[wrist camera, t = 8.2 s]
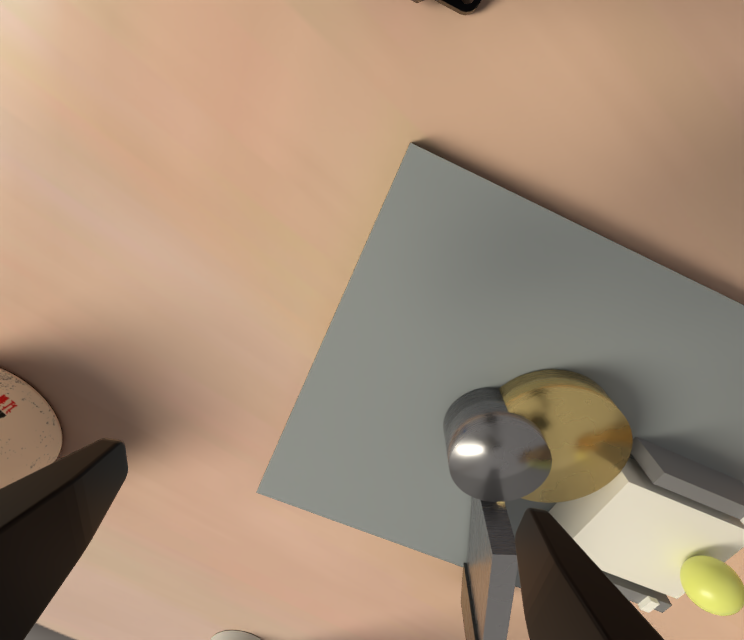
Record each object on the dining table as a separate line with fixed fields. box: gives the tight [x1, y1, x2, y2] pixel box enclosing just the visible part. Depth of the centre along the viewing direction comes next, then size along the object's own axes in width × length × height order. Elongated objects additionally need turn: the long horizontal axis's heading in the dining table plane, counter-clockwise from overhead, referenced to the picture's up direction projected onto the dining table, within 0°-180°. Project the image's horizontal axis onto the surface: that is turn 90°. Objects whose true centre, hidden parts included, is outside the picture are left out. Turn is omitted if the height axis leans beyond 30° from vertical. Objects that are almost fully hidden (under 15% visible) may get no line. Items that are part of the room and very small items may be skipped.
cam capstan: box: [443, 369, 633, 640], centre depth 22 cm, size 9×18×5 cm, turn 3°
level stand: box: [256, 143, 744, 613], centre depth 22 cm, size 22×26×4 cm
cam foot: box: [549, 458, 744, 616], centre depth 22 cm, size 6×8×5 cm
